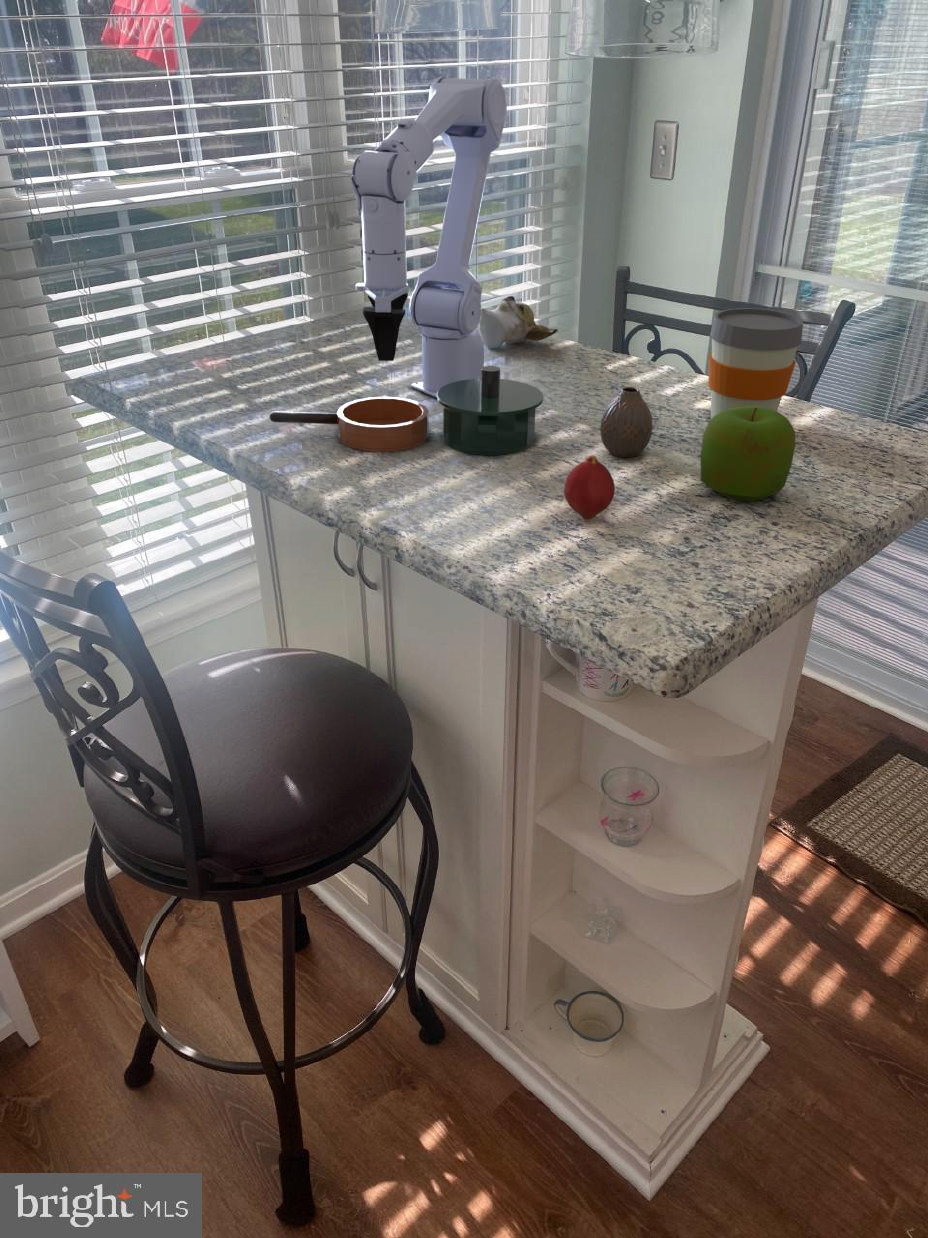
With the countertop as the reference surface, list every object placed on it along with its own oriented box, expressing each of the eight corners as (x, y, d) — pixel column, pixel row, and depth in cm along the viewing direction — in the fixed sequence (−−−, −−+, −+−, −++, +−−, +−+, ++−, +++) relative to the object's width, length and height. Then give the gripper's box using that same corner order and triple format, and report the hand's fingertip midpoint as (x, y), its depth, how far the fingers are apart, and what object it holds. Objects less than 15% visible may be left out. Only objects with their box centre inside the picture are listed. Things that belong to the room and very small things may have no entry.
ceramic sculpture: (462, 293, 175) (523, 286, 184) (459, 342, 179) (519, 333, 188) (502, 305, 168) (564, 298, 177) (498, 356, 172) (558, 346, 181)
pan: (432, 421, 144) (432, 398, 142) (423, 453, 133) (423, 428, 131) (346, 418, 145) (345, 395, 143) (331, 450, 134) (329, 425, 132)
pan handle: (344, 422, 139) (344, 412, 138) (343, 425, 138) (342, 415, 137) (271, 419, 139) (270, 409, 139) (268, 423, 138) (267, 413, 137)
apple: (712, 467, 130) (724, 387, 124) (794, 485, 125) (811, 402, 120) (683, 497, 122) (695, 412, 116) (770, 516, 117) (787, 429, 111)
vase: (617, 465, 130) (624, 400, 126) (588, 447, 136) (593, 385, 131) (659, 456, 133) (667, 393, 129) (629, 439, 138) (636, 378, 134)
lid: (542, 387, 141) (544, 354, 139) (543, 422, 129) (545, 387, 126) (441, 384, 142) (441, 351, 140) (432, 418, 129) (431, 383, 127)
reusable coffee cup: (804, 427, 144) (824, 323, 136) (741, 442, 138) (758, 334, 130) (742, 402, 153) (758, 303, 145) (680, 415, 147) (694, 313, 139)
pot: (533, 418, 146) (535, 379, 142) (533, 464, 130) (535, 421, 127) (448, 415, 146) (449, 376, 143) (438, 461, 131) (438, 418, 128)
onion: (558, 508, 118) (562, 445, 114) (605, 507, 119) (611, 444, 115) (567, 529, 113) (571, 464, 109) (616, 528, 114) (622, 463, 110)
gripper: (358, 239, 137) (363, 337, 144) (349, 261, 125) (355, 367, 132) (409, 240, 137) (411, 337, 144) (405, 261, 125) (407, 367, 132)
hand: (387, 352), depth 138 cm, fingers open, 7 cm apart
